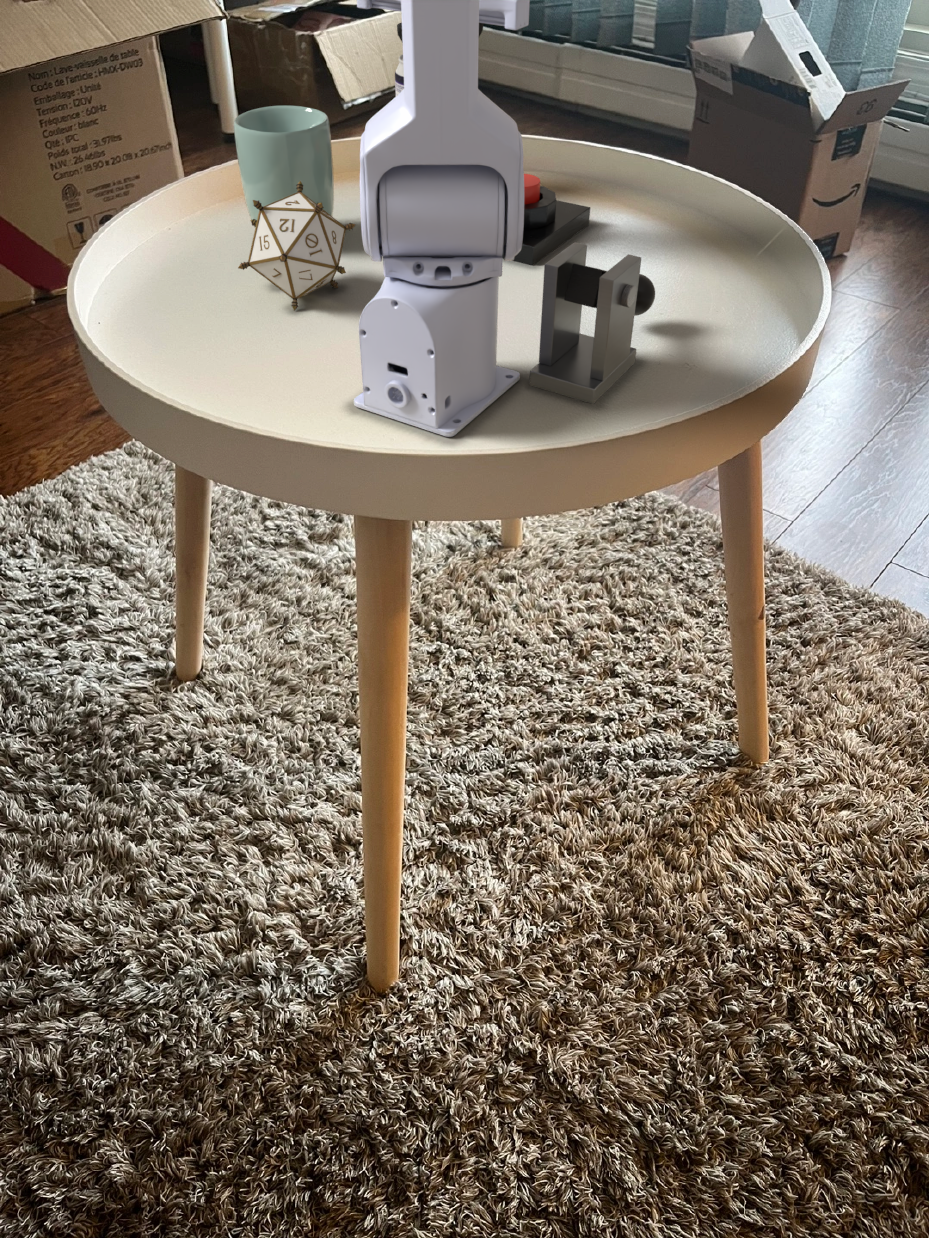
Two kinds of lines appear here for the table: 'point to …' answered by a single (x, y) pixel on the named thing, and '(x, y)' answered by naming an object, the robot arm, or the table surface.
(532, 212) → the control block
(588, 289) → the switch lever
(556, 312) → the switch bracket
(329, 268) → the game die
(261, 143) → the cup
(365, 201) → the robot arm
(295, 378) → the table surface
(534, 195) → the stop button
